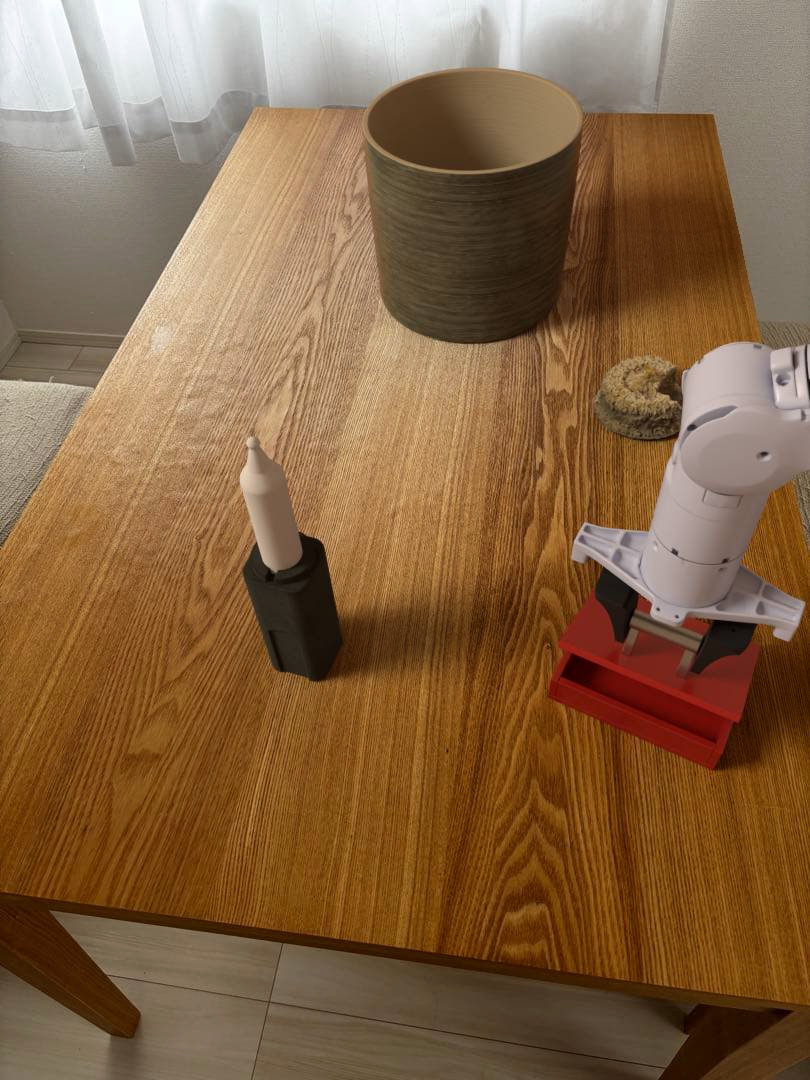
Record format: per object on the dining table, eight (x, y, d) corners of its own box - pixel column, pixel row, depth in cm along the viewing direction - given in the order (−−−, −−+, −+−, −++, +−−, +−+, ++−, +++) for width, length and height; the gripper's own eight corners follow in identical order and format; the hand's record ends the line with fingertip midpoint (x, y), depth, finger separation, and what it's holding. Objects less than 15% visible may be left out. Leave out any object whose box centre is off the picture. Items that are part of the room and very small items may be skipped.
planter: (356, 255, 108) (339, 88, 92) (524, 220, 111) (535, 53, 95) (406, 365, 94) (395, 192, 79) (595, 322, 97) (621, 147, 82)
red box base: (712, 771, 64) (722, 753, 62) (547, 697, 69) (550, 679, 66) (748, 669, 69) (758, 649, 67) (592, 607, 74) (596, 586, 71)
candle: (346, 634, 73) (306, 418, 54) (324, 685, 70) (272, 476, 51) (292, 619, 74) (233, 402, 55) (267, 668, 72) (195, 458, 52)
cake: (598, 447, 86) (600, 407, 82) (588, 381, 92) (589, 340, 88) (701, 440, 85) (709, 398, 81) (684, 373, 91) (690, 332, 87)
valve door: (738, 723, 59) (760, 675, 57) (556, 647, 63) (571, 600, 61) (758, 650, 67) (778, 606, 65) (596, 587, 71) (610, 543, 69)
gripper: (562, 531, 52) (544, 649, 63) (810, 623, 47) (745, 734, 58) (604, 455, 56) (581, 579, 67) (838, 533, 51) (773, 653, 62)
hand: (659, 646), depth 63 cm, fingers closed on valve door, 5 cm apart
